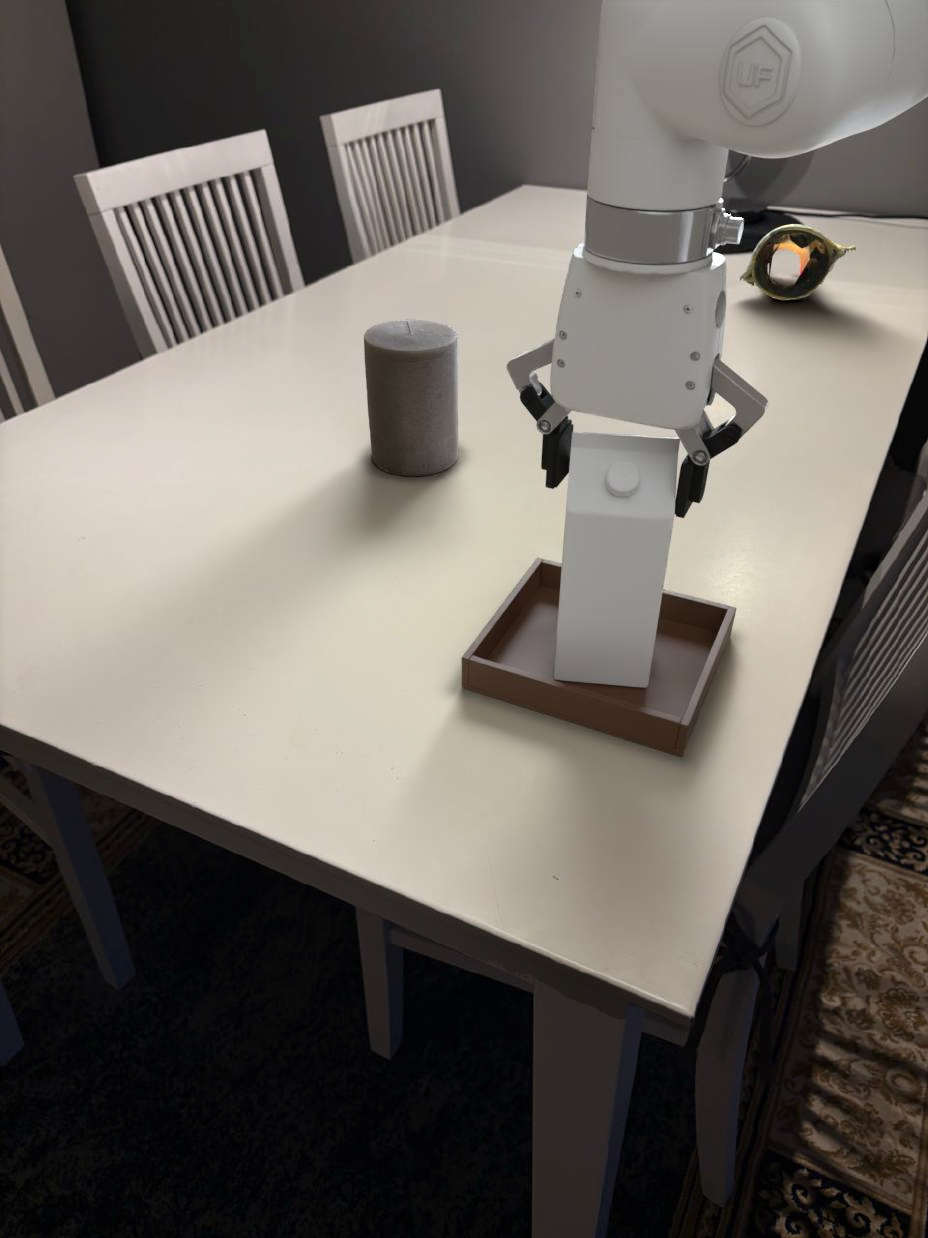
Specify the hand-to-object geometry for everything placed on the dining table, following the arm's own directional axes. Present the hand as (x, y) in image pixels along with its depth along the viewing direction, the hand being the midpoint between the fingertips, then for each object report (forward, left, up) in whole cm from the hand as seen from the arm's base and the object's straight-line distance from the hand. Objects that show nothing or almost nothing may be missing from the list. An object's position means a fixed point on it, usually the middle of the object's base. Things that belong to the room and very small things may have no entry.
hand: (619, 493), depth 63 cm
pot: (+3, -101, -15) cm, 102 cm away
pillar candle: (+30, -25, -15) cm, 42 cm away
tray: (0, 0, -15) cm, 15 cm away
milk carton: (0, 0, -15) cm, 15 cm away
